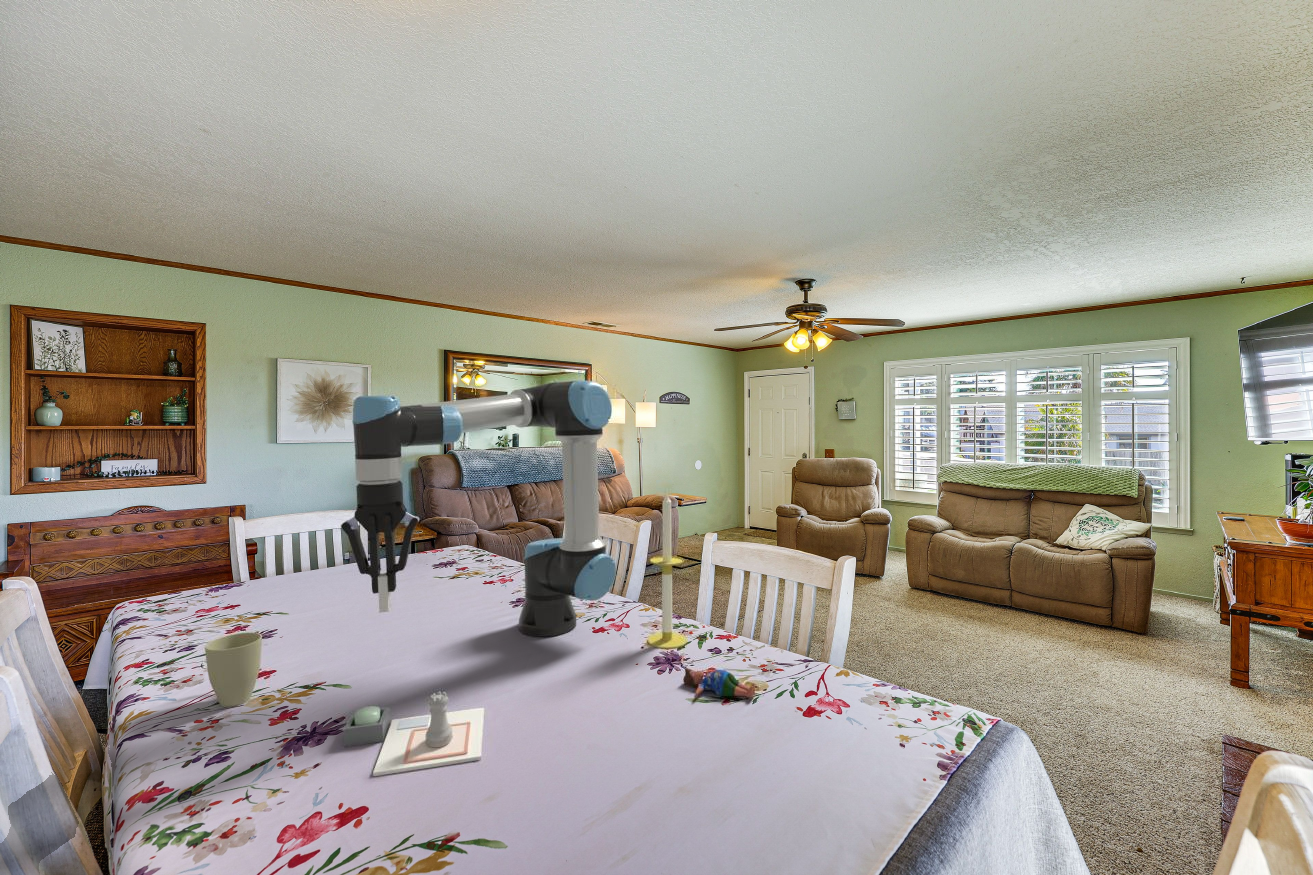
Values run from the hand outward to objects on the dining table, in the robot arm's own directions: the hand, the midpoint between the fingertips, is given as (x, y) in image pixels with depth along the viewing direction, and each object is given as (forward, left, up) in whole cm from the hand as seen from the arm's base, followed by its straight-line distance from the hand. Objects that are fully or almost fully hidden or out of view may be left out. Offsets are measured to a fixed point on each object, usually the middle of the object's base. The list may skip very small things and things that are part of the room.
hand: (385, 609), depth 103 cm
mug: (+31, -17, -21) cm, 41 cm away
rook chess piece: (-10, +11, -20) cm, 25 cm away
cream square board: (-9, +9, -21) cm, 24 cm away
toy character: (-63, +5, -21) cm, 67 cm away
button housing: (+2, +4, -21) cm, 21 cm away
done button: (+2, +4, -20) cm, 21 cm away
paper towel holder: (-60, -22, -21) cm, 67 cm away
